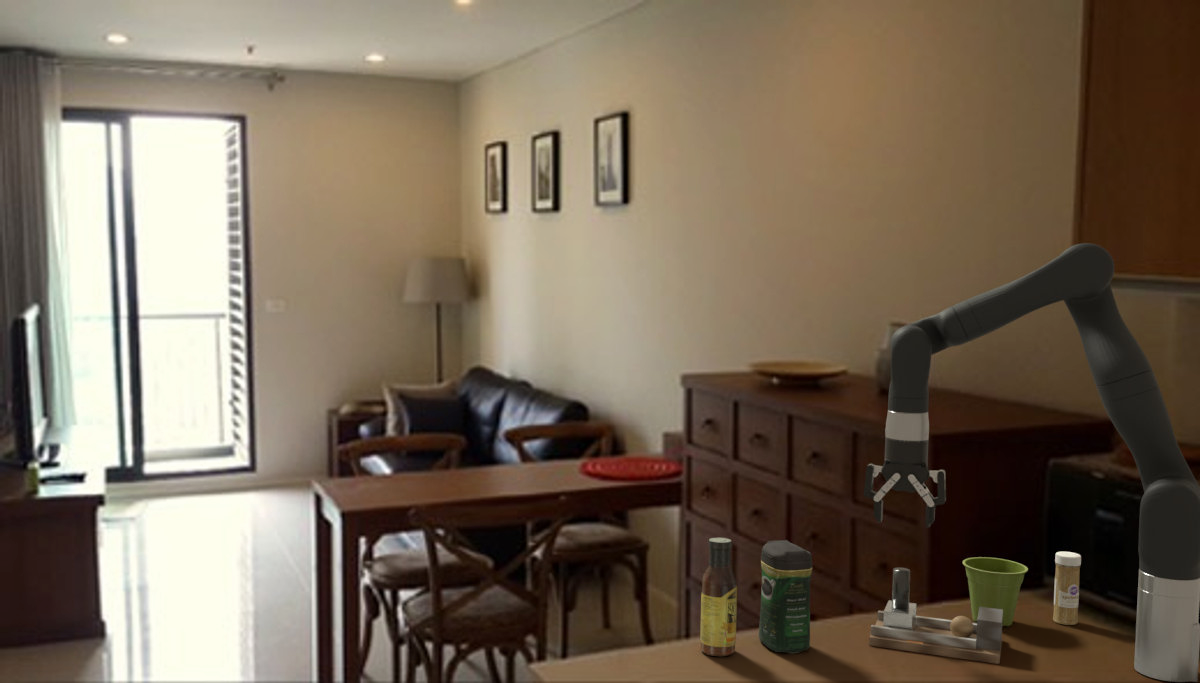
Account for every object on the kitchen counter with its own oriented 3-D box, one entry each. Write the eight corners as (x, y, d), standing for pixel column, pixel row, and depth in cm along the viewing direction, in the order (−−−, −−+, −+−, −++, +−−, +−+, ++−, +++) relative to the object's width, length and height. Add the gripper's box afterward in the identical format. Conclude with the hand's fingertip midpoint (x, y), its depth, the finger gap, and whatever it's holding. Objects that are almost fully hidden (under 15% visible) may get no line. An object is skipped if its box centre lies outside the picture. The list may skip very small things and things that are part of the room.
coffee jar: (816, 653, 189) (820, 549, 188) (775, 656, 187) (778, 551, 186) (792, 634, 199) (795, 535, 197) (752, 638, 196) (755, 538, 195)
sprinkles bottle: (1067, 627, 205) (1070, 557, 205) (1047, 620, 209) (1050, 552, 209) (1083, 623, 208) (1086, 555, 207) (1063, 616, 212) (1066, 549, 211)
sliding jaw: (915, 624, 200) (917, 566, 199) (911, 636, 194) (913, 576, 193) (888, 621, 202) (890, 563, 201) (883, 632, 196) (885, 573, 195)
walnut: (973, 636, 195) (974, 614, 195) (972, 643, 191) (973, 621, 191) (950, 633, 196) (951, 611, 196) (948, 640, 193) (949, 618, 192)
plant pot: (1035, 633, 202) (1037, 574, 201) (971, 631, 202) (973, 572, 201) (1012, 613, 214) (1015, 557, 213) (952, 611, 214) (954, 555, 213)
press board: (1001, 640, 197) (1003, 605, 197) (999, 664, 185) (1001, 627, 185) (879, 623, 206) (880, 590, 205) (869, 645, 194) (870, 609, 193)
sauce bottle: (734, 659, 185) (737, 546, 184) (697, 656, 187) (700, 543, 185) (737, 646, 192) (739, 536, 190) (702, 643, 193) (704, 534, 192)
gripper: (949, 435, 196) (945, 523, 197) (869, 430, 202) (866, 515, 203) (946, 441, 189) (942, 532, 190) (863, 435, 195) (860, 524, 196)
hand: (903, 523), depth 197 cm, fingers open, 8 cm apart
